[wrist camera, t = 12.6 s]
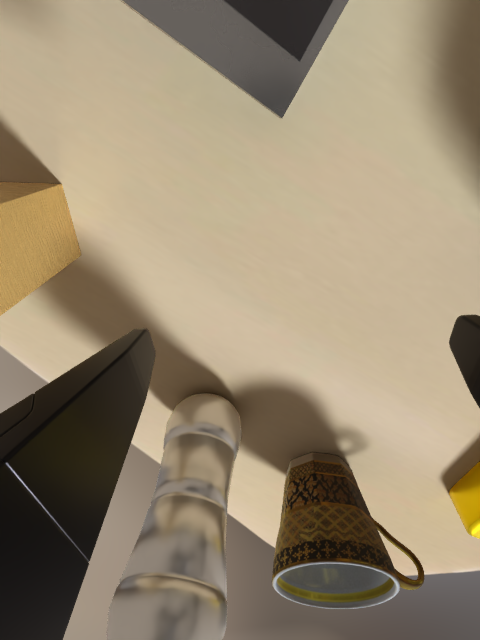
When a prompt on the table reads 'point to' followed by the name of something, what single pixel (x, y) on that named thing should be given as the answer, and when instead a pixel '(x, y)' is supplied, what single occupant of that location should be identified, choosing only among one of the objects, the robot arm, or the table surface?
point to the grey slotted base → (249, 39)
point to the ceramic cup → (333, 541)
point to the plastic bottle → (183, 532)
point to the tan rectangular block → (32, 238)
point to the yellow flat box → (468, 500)
